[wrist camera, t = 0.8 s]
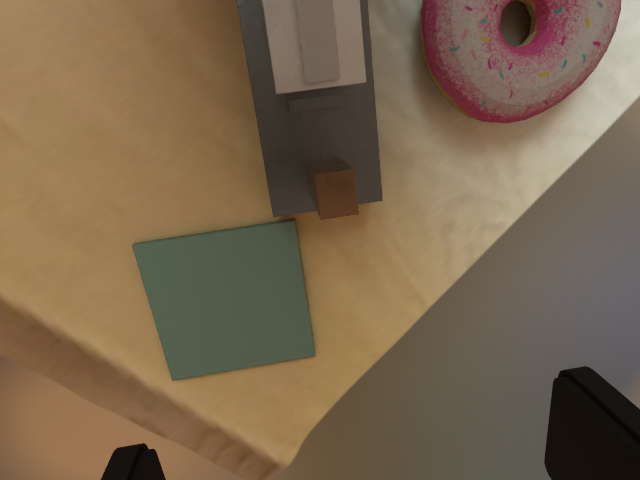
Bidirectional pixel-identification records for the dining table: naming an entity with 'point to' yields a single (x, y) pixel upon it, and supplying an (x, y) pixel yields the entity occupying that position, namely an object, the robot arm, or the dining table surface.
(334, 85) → the lever cap
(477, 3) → the donut
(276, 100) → the plane body
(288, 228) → the rubber mat
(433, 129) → the dining table surface
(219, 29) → the dining table surface
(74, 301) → the dining table surface
